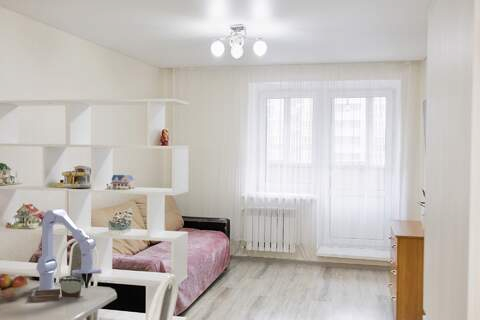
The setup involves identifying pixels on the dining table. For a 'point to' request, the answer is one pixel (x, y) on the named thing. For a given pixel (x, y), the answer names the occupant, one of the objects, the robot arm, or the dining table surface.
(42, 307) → the dining table surface
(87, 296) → the dining table surface
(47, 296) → the bottom track
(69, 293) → the food container
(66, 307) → the dining table surface
